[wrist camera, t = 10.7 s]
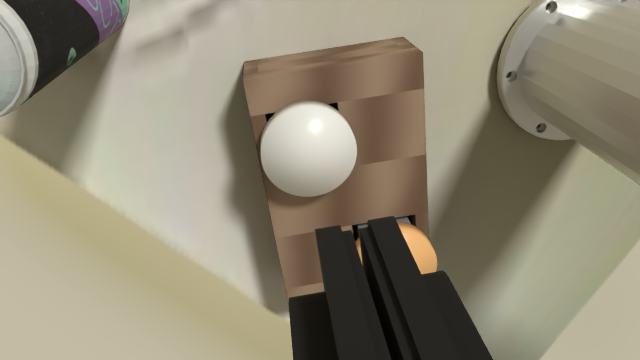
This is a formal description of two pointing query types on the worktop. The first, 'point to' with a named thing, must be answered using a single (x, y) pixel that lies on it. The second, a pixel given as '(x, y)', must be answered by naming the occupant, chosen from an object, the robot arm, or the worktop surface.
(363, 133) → the button panel
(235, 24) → the worktop surface
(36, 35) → the spray can
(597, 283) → the worktop surface
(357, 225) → the orange button
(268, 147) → the white button
